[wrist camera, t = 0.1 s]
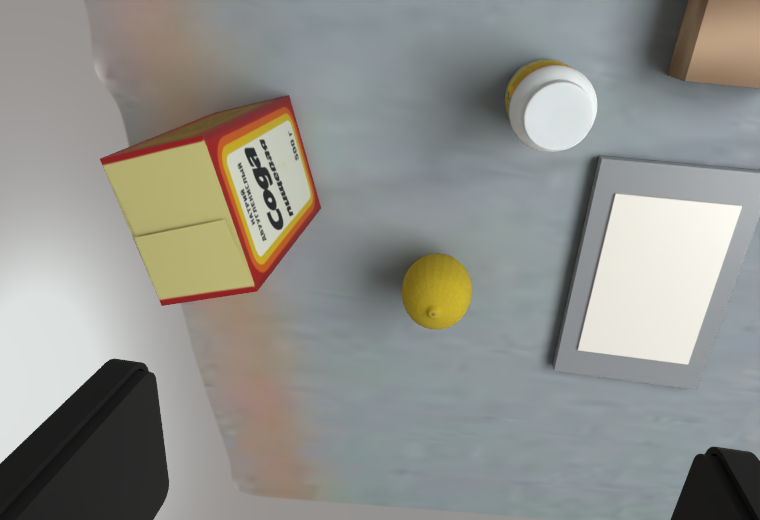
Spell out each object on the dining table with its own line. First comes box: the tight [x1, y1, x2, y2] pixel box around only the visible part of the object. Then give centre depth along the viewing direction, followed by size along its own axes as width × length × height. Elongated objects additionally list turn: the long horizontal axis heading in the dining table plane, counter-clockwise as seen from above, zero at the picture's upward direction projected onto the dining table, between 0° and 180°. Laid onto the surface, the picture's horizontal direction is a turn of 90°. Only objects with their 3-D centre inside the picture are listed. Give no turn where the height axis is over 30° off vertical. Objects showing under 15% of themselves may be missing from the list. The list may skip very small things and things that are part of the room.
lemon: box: [402, 253, 472, 329], centre depth 45 cm, size 6×6×8 cm
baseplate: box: [553, 156, 760, 390], centre depth 45 cm, size 19×12×1 cm, turn 177°
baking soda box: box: [100, 96, 321, 306], centre depth 40 cm, size 10×6×16 cm
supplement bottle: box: [505, 59, 597, 152], centre depth 37 cm, size 5×5×10 cm
